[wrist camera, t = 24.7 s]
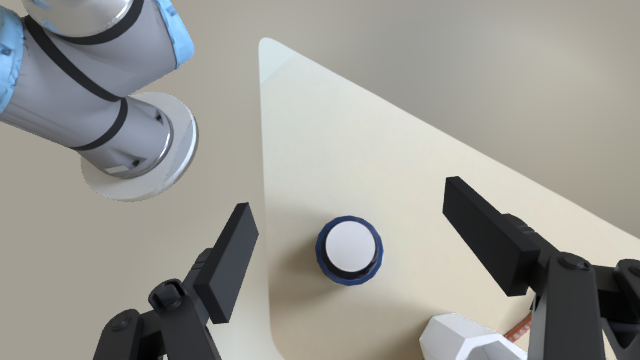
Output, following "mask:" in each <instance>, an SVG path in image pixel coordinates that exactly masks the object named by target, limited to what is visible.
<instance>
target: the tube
mask: <svg viewBox="0 0 640 360" xmlns="http://www.w3.org/2000/svg"><path fill="white" fill-rule="evenodd" d="M326 251H327V255H328V257H329V259H330V261H331V262H332V263H333V264H334V265H335V266H336V267H337V268H339V269H341V270H344V271H349V272H354V271H358V270H361V269H363V268H365V267H366V266H367V265H368V264H369V263H370V262H371V260H372V258H373V256H374V252H375V242H374V239H373V236H372V234H371V233H370V231H369V230H368V229H367V228H366V227H365V226H363V225H362V224H360V223H357V222H353V221H346V222H342V223H339V224H338V225H336V226H335V227H334V228H333V229H332V230H331V231H330V232H329V234H328V237H327V240H326Z"/></svg>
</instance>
